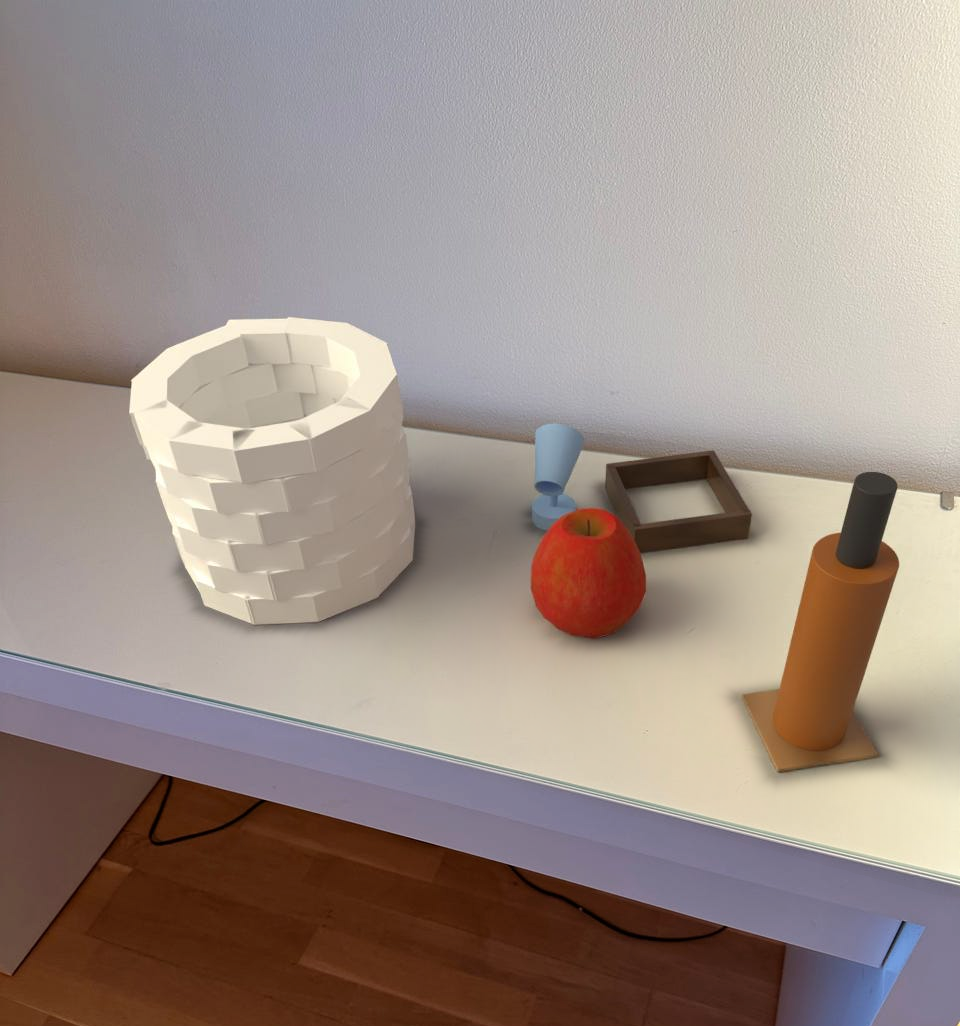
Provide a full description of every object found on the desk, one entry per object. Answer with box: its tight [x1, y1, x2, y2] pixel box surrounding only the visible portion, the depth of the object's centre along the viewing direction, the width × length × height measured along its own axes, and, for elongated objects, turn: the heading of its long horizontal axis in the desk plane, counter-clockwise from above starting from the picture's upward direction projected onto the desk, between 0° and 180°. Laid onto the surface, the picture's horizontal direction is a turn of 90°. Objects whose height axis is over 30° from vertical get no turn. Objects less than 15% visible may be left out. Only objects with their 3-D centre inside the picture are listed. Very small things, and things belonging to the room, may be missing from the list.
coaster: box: [741, 688, 879, 773], centre depth 77 cm, size 8×8×1 cm
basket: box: [128, 316, 416, 626], centre depth 91 cm, size 25×24×19 cm
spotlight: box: [531, 423, 585, 532], centre depth 96 cm, size 5×10×7 cm
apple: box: [530, 507, 647, 639], centre depth 85 cm, size 10×10×10 cm
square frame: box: [604, 449, 753, 554], centre depth 97 cm, size 12×12×3 cm
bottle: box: [773, 471, 900, 751], centre depth 69 cm, size 6×6×23 cm
